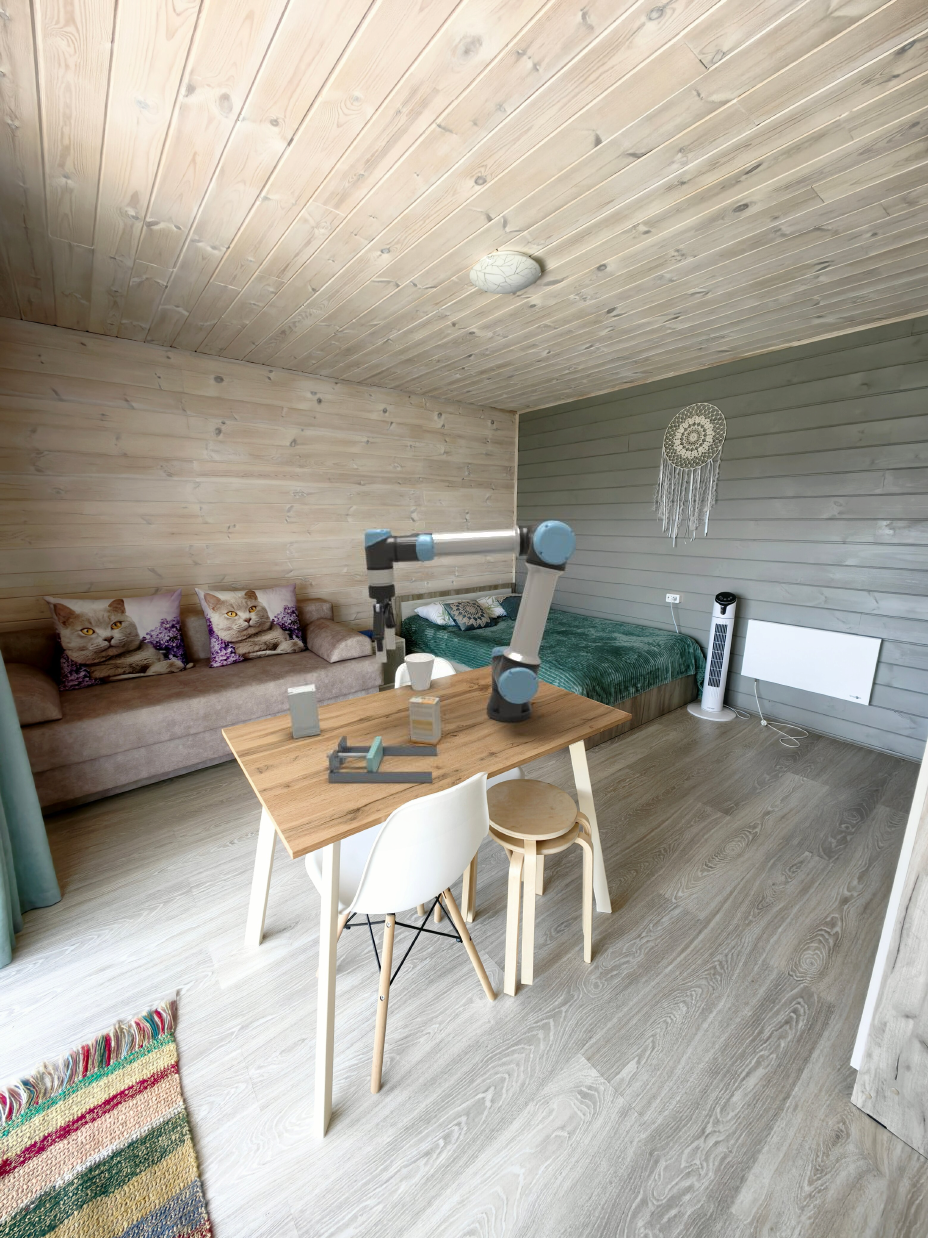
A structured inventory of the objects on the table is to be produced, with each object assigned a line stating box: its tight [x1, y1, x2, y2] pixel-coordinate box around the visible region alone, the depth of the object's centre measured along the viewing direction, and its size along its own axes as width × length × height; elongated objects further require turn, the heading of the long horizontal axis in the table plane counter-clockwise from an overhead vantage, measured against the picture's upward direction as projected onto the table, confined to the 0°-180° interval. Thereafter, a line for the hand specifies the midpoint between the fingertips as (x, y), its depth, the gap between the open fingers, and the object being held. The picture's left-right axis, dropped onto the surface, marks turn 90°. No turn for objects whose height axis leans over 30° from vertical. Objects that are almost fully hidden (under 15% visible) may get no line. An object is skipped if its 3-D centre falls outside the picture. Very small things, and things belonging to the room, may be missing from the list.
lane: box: [328, 735, 438, 784], centre depth 127 cm, size 26×15×6 cm, turn 88°
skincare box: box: [287, 683, 321, 740], centre depth 147 cm, size 8×6×15 cm
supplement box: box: [408, 695, 442, 746], centre depth 142 cm, size 8×5×13 cm, turn 71°
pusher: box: [326, 736, 384, 772], centre depth 127 cm, size 14×12×6 cm
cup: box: [404, 652, 436, 692], centre depth 187 cm, size 12×12×12 cm
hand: (386, 655), depth 141 cm, fingers open, 13 cm apart
